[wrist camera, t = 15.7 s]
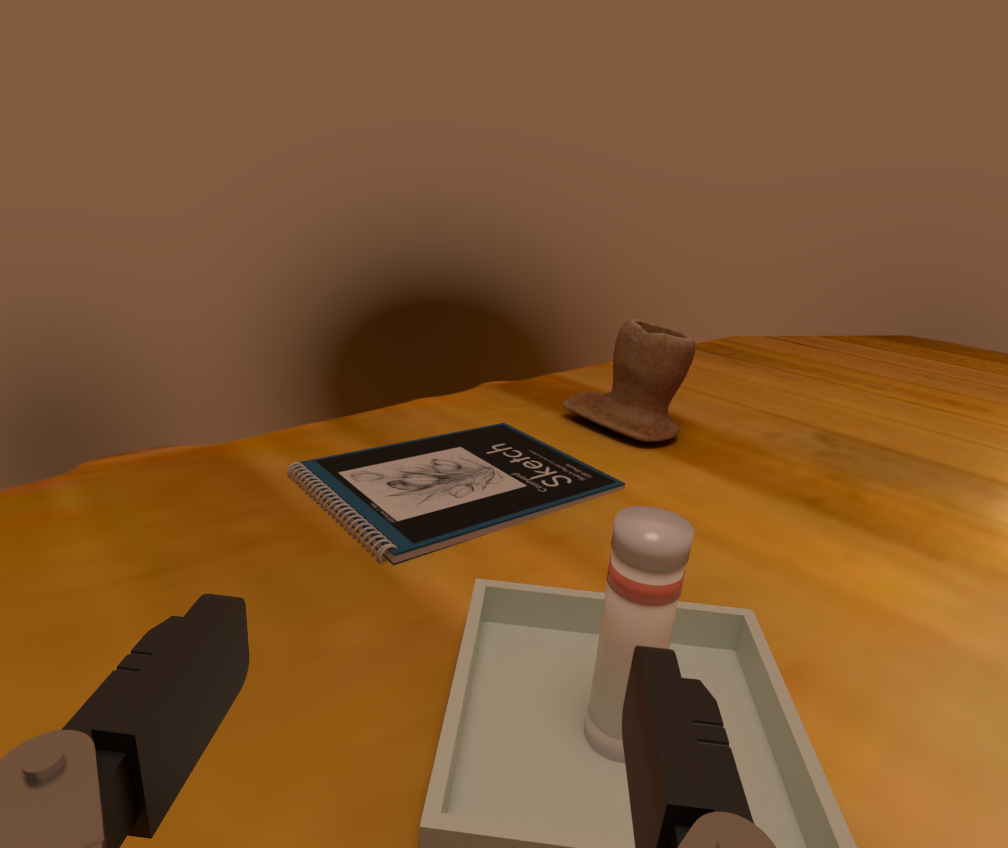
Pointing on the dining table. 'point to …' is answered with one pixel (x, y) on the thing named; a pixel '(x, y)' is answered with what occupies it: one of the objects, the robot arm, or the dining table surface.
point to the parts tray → (560, 728)
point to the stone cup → (640, 382)
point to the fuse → (634, 612)
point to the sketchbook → (447, 488)
